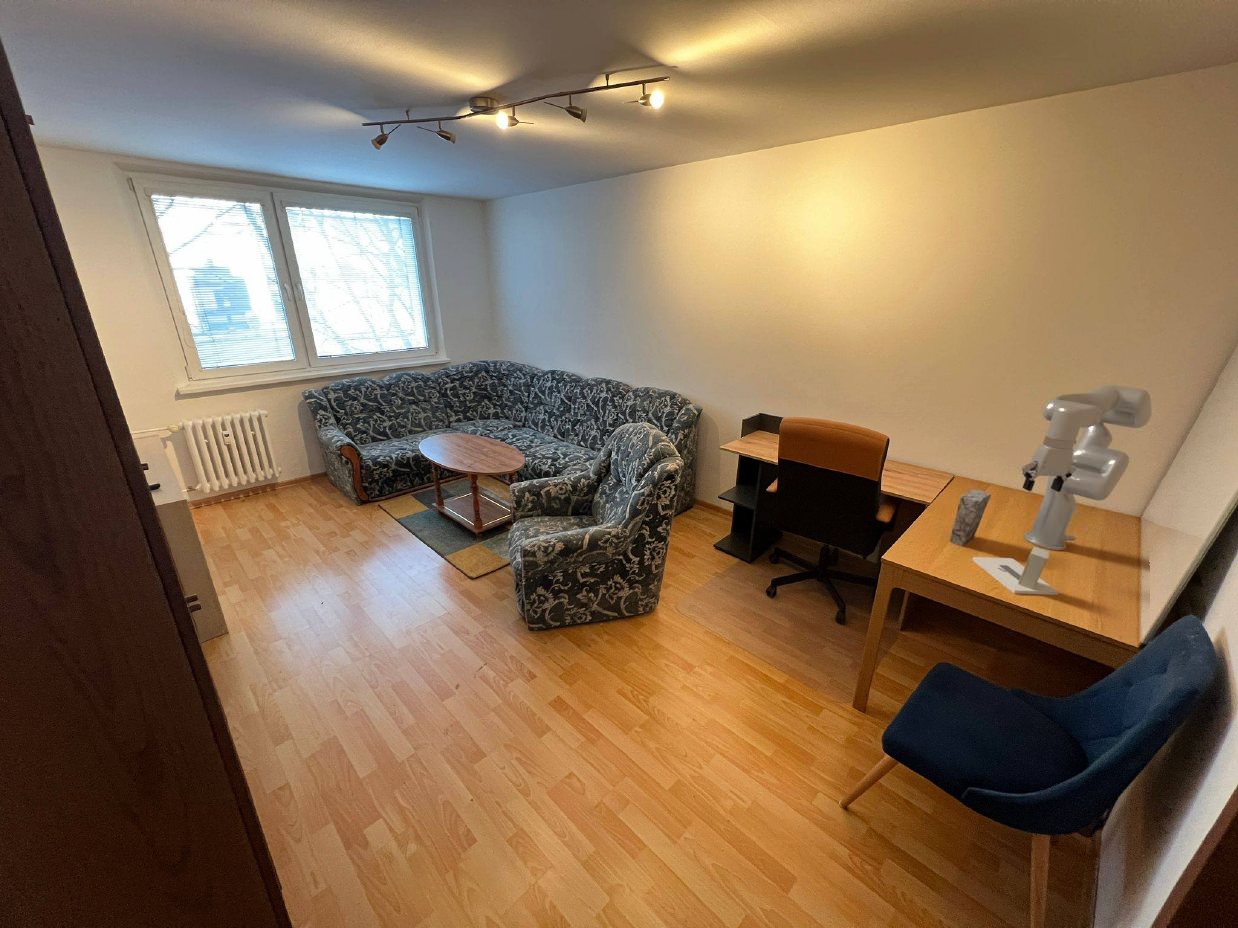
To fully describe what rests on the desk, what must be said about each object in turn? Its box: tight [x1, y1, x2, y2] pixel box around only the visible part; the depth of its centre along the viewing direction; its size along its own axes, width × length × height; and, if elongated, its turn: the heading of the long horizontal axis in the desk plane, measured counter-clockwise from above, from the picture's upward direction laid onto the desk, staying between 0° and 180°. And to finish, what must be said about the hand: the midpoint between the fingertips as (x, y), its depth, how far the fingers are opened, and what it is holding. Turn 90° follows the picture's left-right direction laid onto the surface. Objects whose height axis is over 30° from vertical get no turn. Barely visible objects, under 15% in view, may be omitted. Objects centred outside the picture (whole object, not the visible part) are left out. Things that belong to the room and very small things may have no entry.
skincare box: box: [1018, 546, 1051, 589], centre depth 155 cm, size 6×4×12 cm
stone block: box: [949, 488, 991, 547], centre depth 183 cm, size 13×7×20 cm, turn 132°
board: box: [972, 556, 1059, 596], centre depth 163 cm, size 14×20×1 cm
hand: (1041, 489), depth 163 cm, fingers open, 9 cm apart
